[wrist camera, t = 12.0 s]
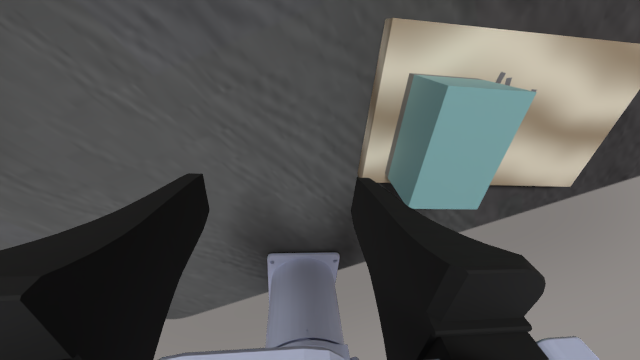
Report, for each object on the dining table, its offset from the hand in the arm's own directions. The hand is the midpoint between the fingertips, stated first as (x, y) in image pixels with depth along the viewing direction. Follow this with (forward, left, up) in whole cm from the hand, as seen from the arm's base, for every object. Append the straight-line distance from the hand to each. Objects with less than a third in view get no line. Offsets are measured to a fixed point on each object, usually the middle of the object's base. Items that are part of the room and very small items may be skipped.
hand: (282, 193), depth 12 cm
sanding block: (+1, -11, -8) cm, 14 cm away
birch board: (+2, -17, -9) cm, 20 cm away
